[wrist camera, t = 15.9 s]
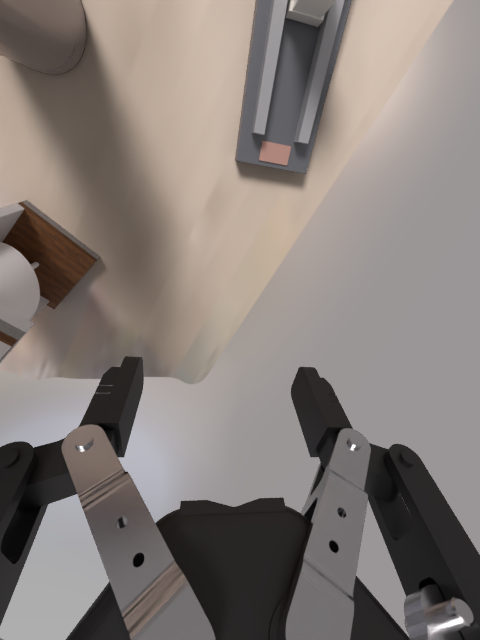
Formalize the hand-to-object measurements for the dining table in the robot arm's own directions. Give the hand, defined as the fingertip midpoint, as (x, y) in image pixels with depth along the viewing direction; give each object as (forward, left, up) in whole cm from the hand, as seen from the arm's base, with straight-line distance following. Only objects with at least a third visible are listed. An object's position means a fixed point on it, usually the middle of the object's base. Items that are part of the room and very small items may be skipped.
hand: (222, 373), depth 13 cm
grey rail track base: (-10, +16, -30) cm, 36 cm away
